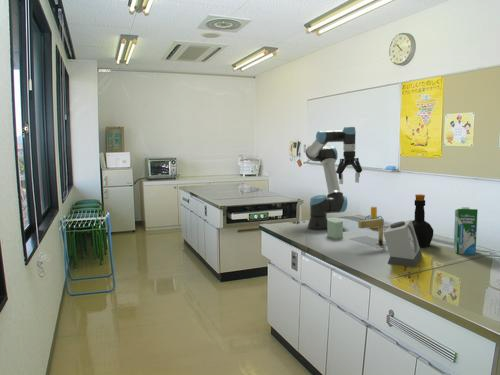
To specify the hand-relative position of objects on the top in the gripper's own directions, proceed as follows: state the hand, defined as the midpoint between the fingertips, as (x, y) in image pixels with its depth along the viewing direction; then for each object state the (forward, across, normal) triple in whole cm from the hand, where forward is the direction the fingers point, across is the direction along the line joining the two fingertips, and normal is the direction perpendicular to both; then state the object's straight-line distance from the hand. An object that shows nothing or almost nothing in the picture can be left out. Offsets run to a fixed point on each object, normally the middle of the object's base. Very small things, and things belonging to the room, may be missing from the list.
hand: (349, 183), depth 247 cm
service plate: (+35, -2, -21) cm, 41 cm away
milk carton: (+35, +26, -63) cm, 77 cm away
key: (+34, -8, -28) cm, 45 cm away
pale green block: (+35, -12, 0) cm, 37 cm away
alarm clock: (+35, -11, -54) cm, 65 cm away
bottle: (+35, +18, -40) cm, 56 cm away
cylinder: (+35, +28, +6) cm, 45 cm away
